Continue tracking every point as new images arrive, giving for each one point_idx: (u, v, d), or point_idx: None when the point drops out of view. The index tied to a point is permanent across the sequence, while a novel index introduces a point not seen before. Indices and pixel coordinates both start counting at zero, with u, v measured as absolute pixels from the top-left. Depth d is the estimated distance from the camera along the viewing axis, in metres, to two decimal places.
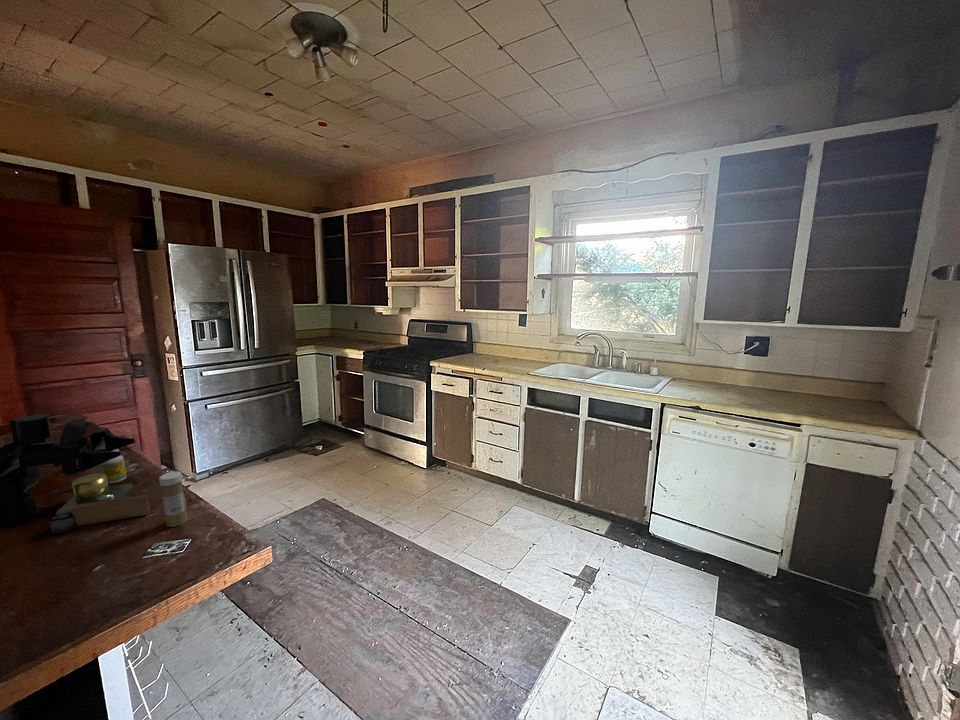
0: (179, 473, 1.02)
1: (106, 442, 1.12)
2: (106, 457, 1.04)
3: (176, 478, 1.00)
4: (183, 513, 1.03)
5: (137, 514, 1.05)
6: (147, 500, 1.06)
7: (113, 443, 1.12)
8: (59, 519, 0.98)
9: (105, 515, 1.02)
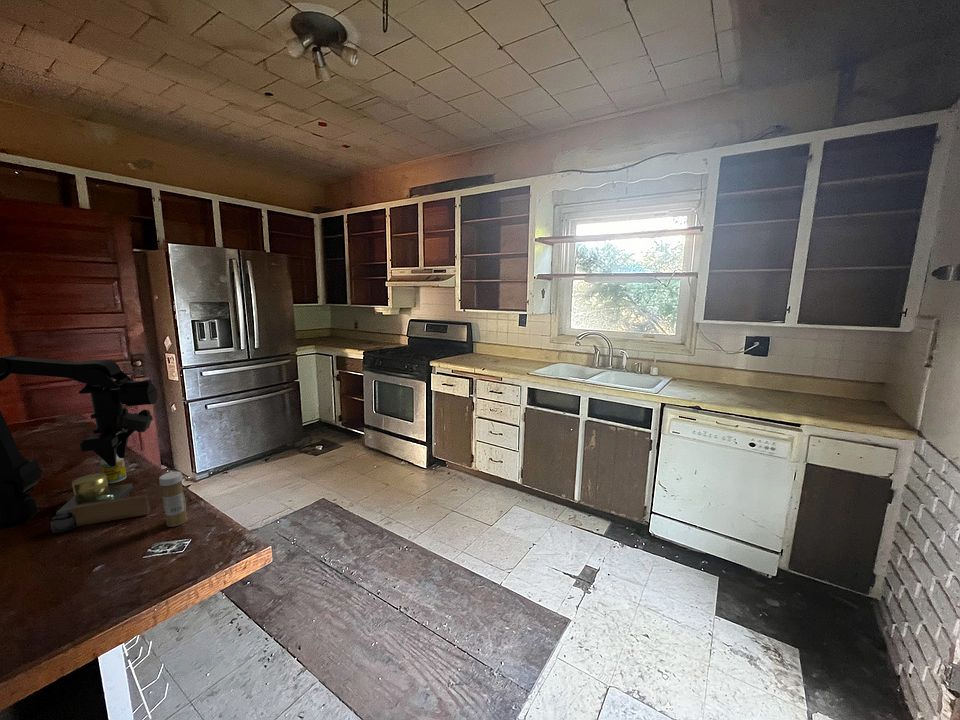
0: (179, 473, 1.02)
1: (119, 435, 1.10)
2: (107, 458, 1.05)
3: (176, 478, 1.00)
4: (183, 513, 1.03)
5: (137, 514, 1.05)
6: (147, 500, 1.06)
7: (118, 441, 1.10)
8: (59, 519, 0.98)
9: (105, 515, 1.02)
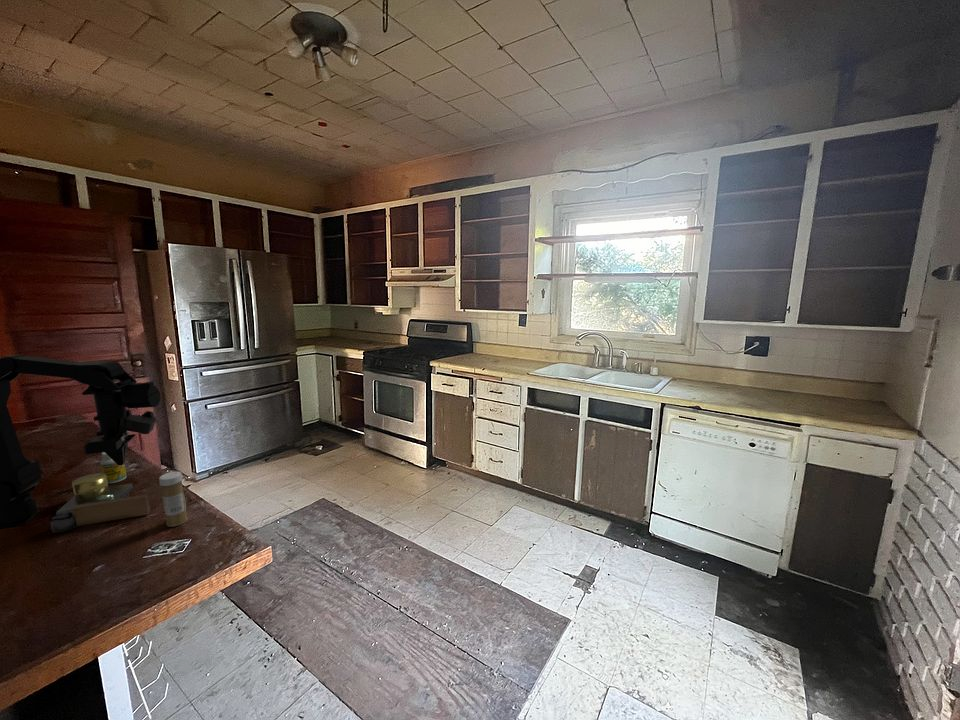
0: (179, 473, 1.02)
1: None
2: (115, 457, 1.05)
3: (176, 478, 1.00)
4: (183, 513, 1.03)
5: (137, 514, 1.05)
6: (147, 500, 1.06)
7: None
8: (59, 519, 0.98)
9: (105, 515, 1.02)
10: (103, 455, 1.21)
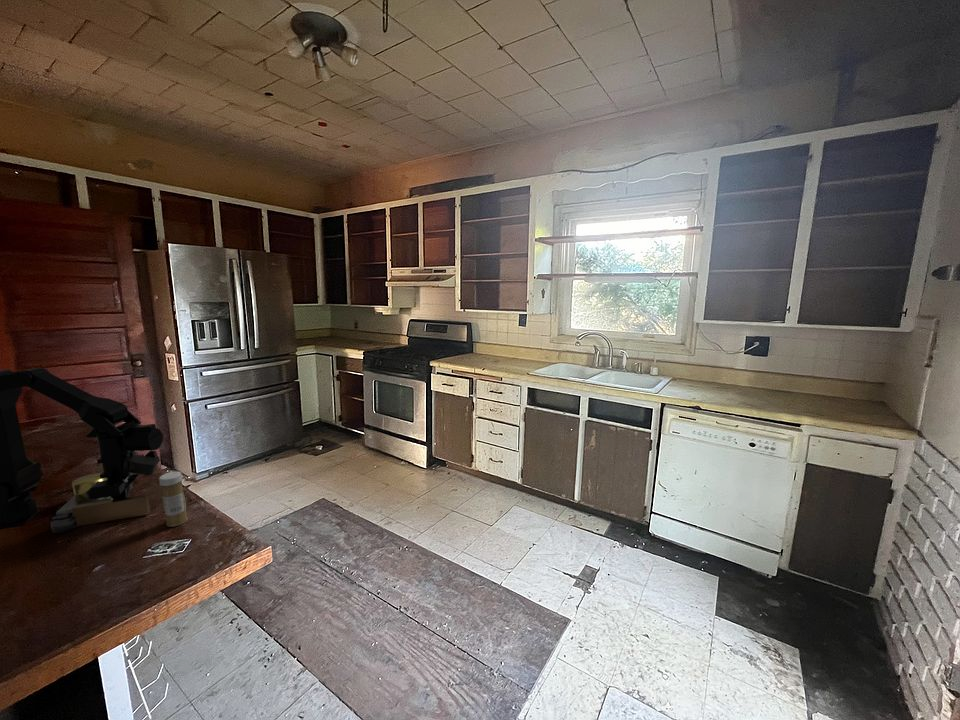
0: (179, 473, 1.02)
1: None
2: (119, 498, 1.05)
3: (176, 478, 1.00)
4: (183, 513, 1.03)
5: (137, 514, 1.05)
6: (147, 500, 1.06)
7: None
8: (59, 519, 0.98)
9: (105, 515, 1.02)
10: None
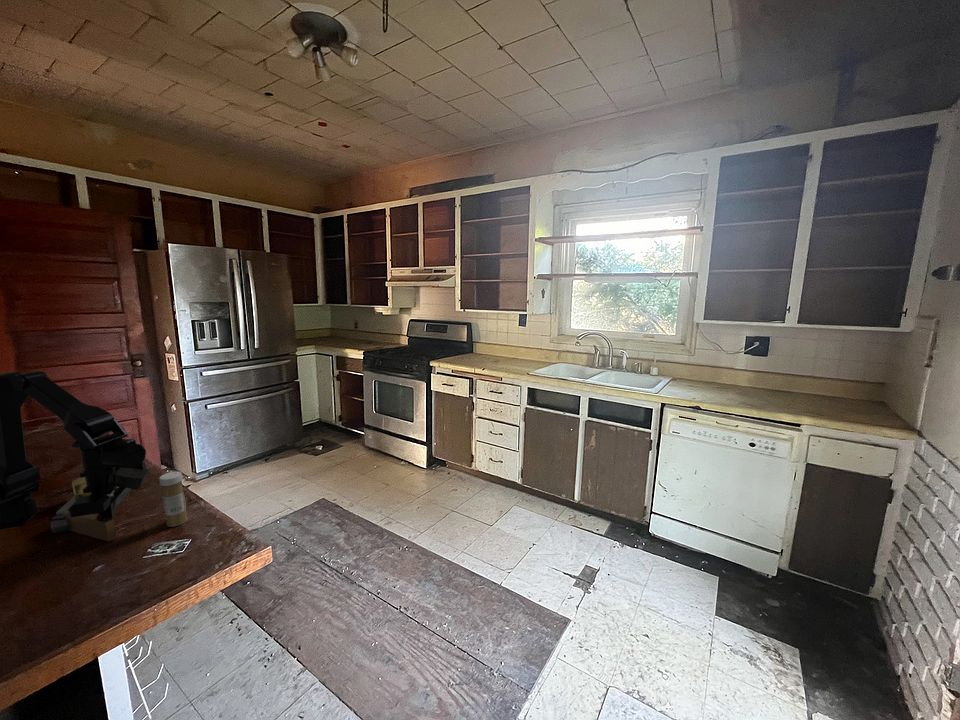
0: (179, 473, 1.02)
1: None
2: (104, 513, 0.98)
3: (176, 478, 1.00)
4: (183, 513, 1.03)
5: (102, 538, 0.95)
6: (110, 526, 0.95)
7: None
8: (56, 519, 0.99)
9: (83, 528, 0.97)
10: None
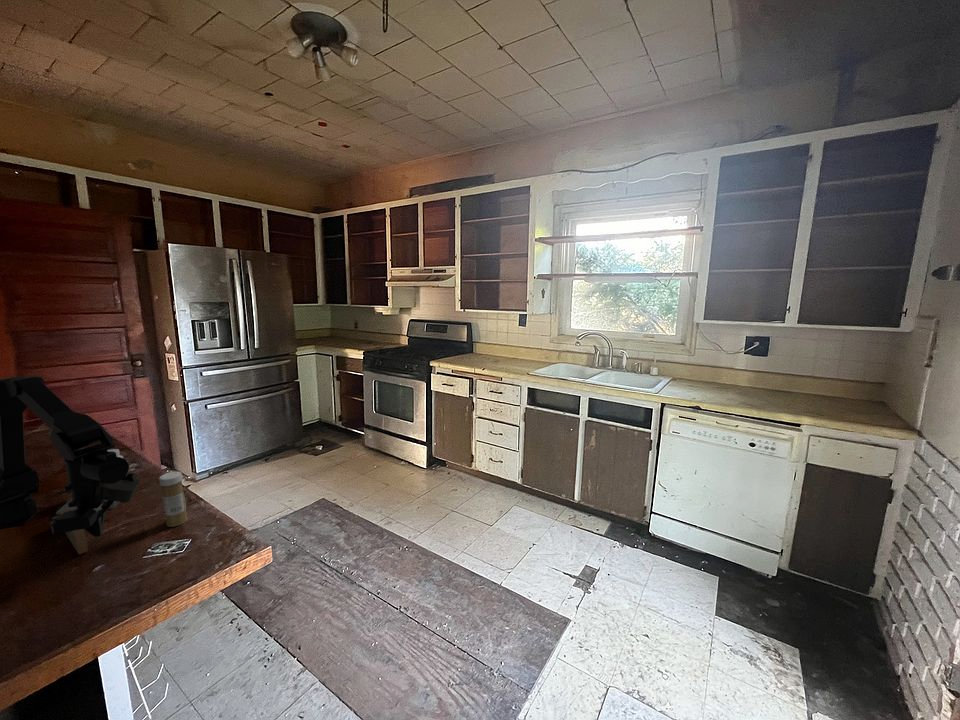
0: (179, 473, 1.02)
1: None
2: (91, 528, 0.92)
3: (176, 478, 1.00)
4: (183, 513, 1.03)
5: (76, 548, 0.91)
6: (81, 538, 0.90)
7: None
8: (55, 518, 0.99)
9: (68, 534, 0.95)
10: None
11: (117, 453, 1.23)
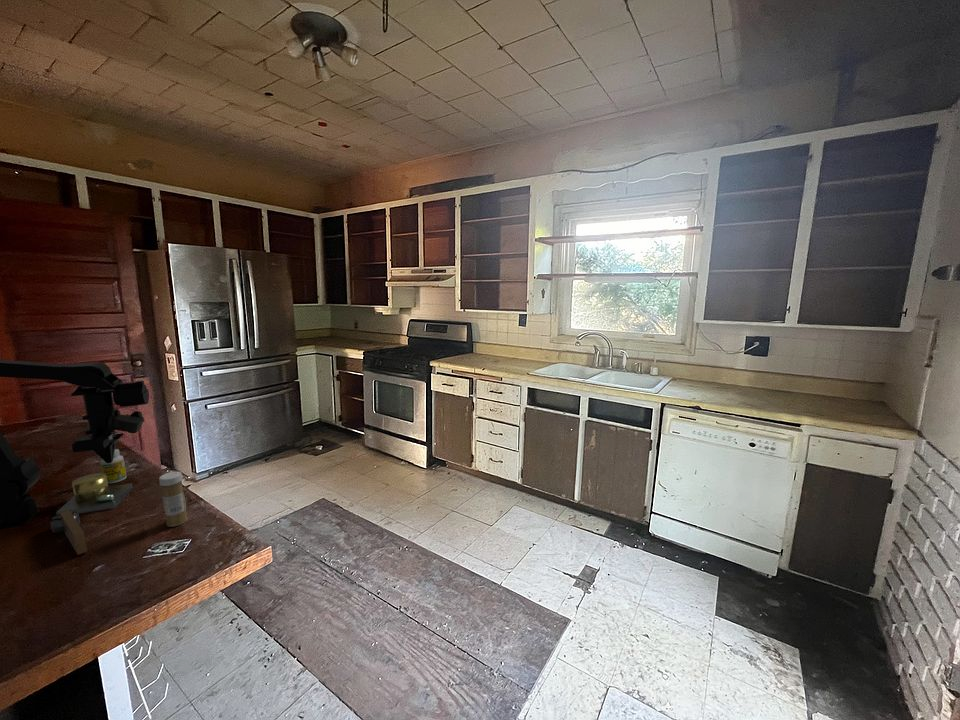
0: (179, 473, 1.02)
1: None
2: (104, 455, 1.09)
3: (176, 478, 1.00)
4: (183, 513, 1.03)
5: (75, 549, 0.91)
6: (80, 538, 0.90)
7: None
8: (55, 518, 0.99)
9: (68, 534, 0.95)
10: None
11: (117, 453, 1.23)
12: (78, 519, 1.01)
